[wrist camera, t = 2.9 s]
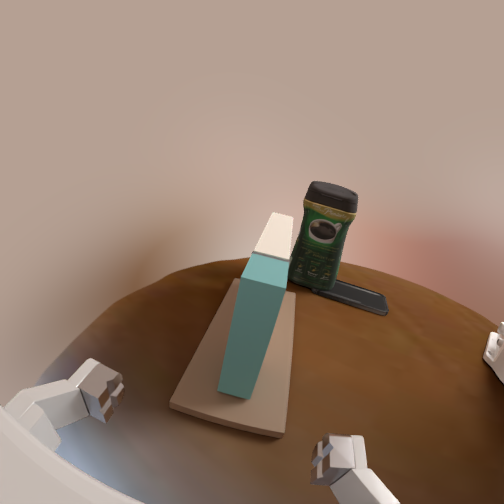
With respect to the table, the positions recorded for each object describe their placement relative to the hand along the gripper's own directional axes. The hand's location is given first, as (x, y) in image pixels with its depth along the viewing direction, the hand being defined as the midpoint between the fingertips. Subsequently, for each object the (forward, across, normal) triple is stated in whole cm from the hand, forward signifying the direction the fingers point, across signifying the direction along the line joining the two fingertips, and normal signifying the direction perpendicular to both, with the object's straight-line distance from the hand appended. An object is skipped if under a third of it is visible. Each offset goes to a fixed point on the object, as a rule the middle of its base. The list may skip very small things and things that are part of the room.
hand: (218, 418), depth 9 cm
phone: (+40, -16, +12) cm, 45 cm away
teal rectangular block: (+13, 0, +10) cm, 16 cm away
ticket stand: (+20, 0, +12) cm, 24 cm away
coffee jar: (+42, -8, +12) cm, 44 cm away
